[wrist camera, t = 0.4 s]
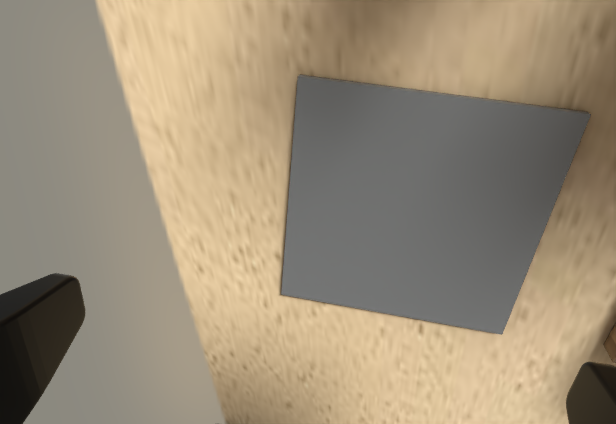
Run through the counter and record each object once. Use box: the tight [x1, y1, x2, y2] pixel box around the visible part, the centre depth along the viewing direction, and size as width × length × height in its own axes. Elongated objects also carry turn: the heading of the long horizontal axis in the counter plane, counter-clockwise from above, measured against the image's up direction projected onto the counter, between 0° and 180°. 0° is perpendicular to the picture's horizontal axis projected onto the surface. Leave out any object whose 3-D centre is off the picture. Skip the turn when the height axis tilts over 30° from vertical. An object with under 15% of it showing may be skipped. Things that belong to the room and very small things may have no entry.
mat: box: [281, 75, 591, 334], centre depth 22 cm, size 12×12×1 cm
